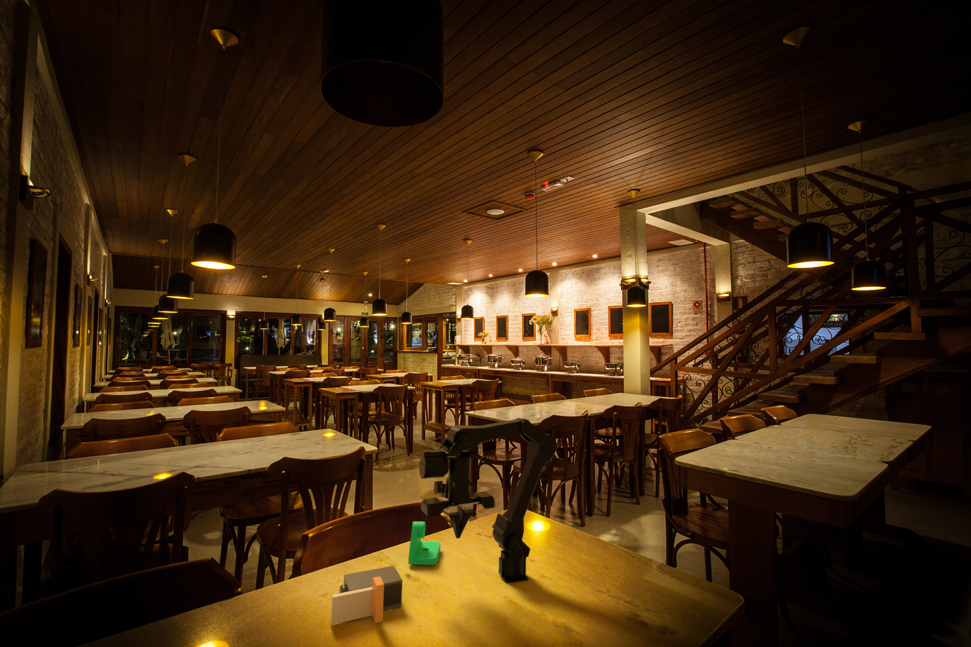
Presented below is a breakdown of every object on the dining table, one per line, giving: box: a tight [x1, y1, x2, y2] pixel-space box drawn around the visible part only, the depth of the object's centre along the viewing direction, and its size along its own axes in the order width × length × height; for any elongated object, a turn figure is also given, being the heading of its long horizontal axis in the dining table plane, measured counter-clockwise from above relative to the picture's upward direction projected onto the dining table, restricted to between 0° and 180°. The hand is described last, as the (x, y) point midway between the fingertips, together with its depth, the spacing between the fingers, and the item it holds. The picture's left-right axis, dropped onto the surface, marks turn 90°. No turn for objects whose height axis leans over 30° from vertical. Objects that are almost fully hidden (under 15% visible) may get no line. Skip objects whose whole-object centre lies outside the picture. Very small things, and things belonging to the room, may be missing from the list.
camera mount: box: [407, 521, 441, 566], centre depth 126 cm, size 12×8×10 cm, turn 179°
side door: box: [330, 576, 384, 625], centre depth 93 cm, size 10×5×8 cm, turn 116°
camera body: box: [338, 565, 403, 612], centre depth 101 cm, size 13×8×6 cm, turn 116°
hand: (457, 537), depth 111 cm, fingers closed
